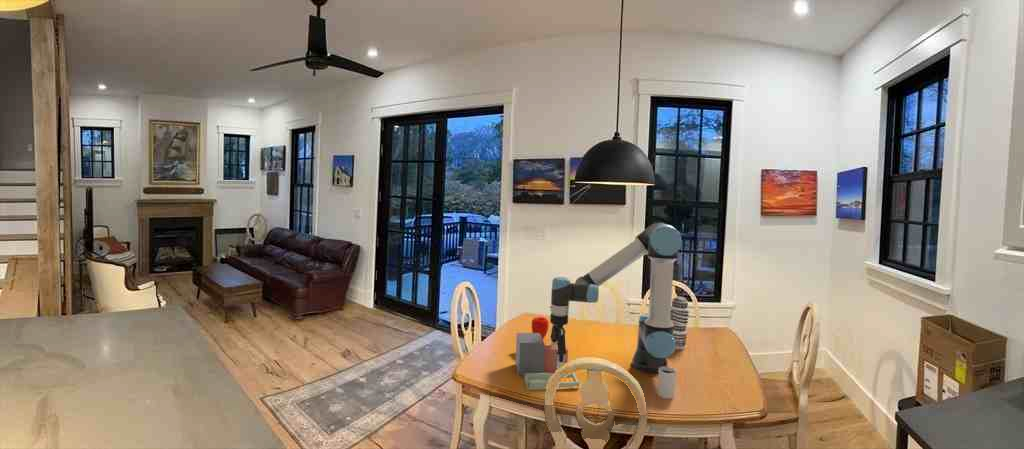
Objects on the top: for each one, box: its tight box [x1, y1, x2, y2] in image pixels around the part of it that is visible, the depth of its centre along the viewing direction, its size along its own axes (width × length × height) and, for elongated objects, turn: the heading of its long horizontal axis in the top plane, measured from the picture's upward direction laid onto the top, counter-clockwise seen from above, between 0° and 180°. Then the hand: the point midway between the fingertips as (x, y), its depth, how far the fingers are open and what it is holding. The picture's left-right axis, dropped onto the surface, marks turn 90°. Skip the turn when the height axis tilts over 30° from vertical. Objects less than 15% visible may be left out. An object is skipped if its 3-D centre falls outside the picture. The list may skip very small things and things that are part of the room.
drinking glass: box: [657, 366, 677, 400], centre depth 177 cm, size 7×7×10 cm
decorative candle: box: [670, 296, 690, 350], centre depth 233 cm, size 9×9×25 cm
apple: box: [531, 316, 550, 339], centre depth 236 cm, size 9×9×11 cm
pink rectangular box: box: [543, 344, 569, 373], centre depth 196 cm, size 16×5×10 cm, turn 96°
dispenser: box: [515, 332, 546, 377], centre depth 195 cm, size 11×12×14 cm
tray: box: [523, 372, 580, 390], centre depth 182 cm, size 20×9×3 cm, turn 96°
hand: (556, 362), depth 197 cm, fingers open, 13 cm apart
